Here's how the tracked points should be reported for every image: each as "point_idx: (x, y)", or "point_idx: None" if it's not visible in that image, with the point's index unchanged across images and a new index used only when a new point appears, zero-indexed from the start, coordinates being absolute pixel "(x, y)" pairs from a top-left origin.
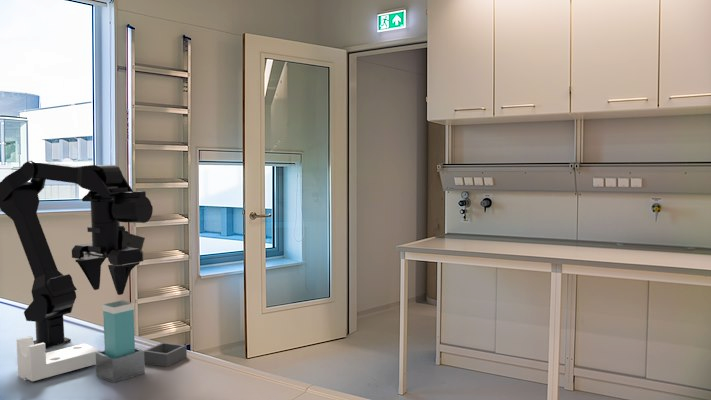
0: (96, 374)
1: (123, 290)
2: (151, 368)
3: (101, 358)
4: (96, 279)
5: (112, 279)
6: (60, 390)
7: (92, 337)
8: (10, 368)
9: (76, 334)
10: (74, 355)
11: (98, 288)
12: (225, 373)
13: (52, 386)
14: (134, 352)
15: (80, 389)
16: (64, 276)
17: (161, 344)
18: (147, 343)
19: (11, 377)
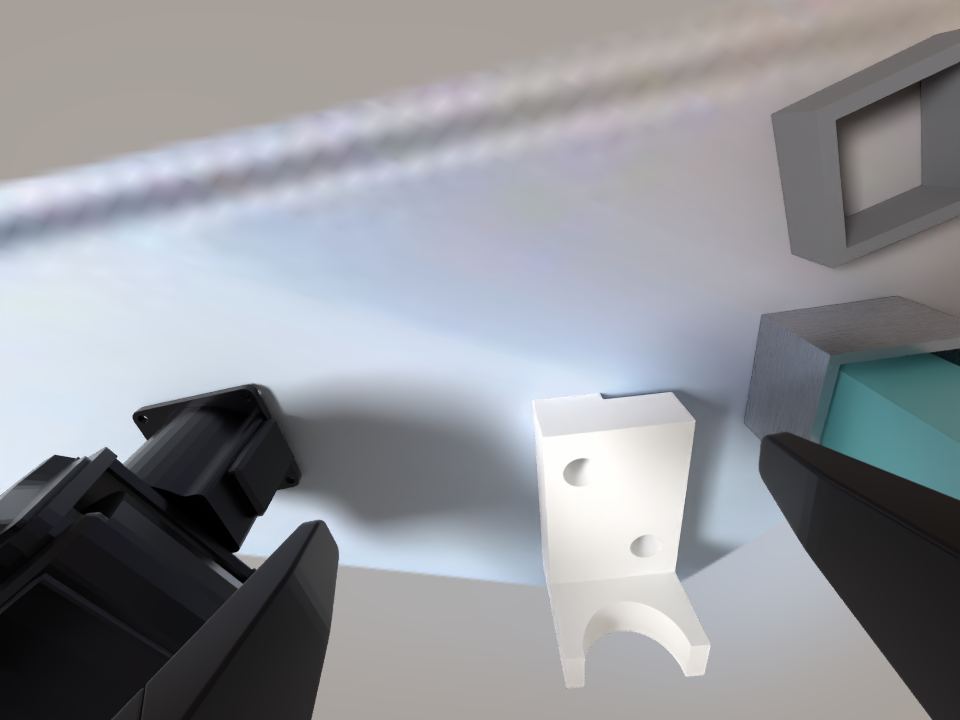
0: (746, 424)
1: (827, 455)
2: (880, 253)
3: None
4: (283, 645)
5: (936, 716)
6: (760, 518)
7: (224, 290)
8: (454, 569)
9: (121, 332)
10: (666, 499)
11: (322, 529)
12: None
13: (710, 525)
14: (946, 363)
15: None
16: None
17: (834, 136)
18: (535, 99)
19: (540, 577)
